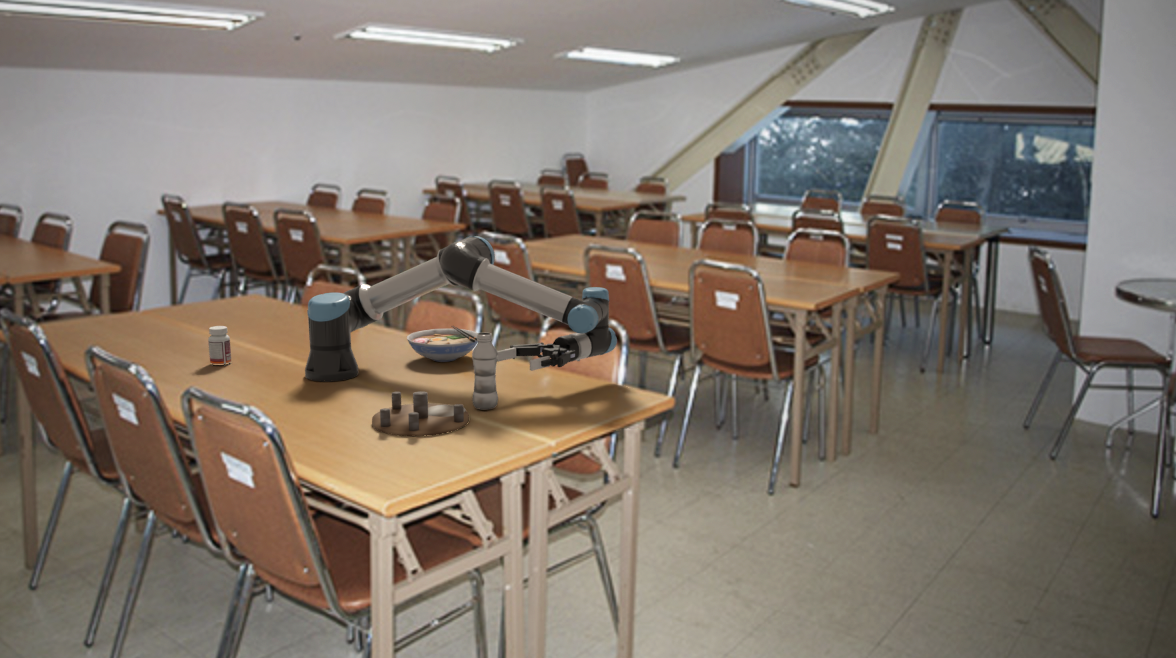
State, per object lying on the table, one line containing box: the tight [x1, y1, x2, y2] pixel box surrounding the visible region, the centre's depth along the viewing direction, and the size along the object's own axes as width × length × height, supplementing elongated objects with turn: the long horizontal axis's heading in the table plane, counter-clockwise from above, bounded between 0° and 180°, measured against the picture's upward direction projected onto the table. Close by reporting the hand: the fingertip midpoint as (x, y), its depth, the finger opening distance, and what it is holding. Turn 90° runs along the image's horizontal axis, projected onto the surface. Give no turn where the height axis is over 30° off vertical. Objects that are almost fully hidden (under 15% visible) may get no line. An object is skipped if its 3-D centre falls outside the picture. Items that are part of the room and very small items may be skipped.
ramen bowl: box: [406, 325, 479, 363], centre depth 317 cm, size 25×23×8 cm
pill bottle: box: [207, 325, 232, 364], centre depth 310 cm, size 6×6×11 cm
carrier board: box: [371, 391, 470, 437], centre depth 255 cm, size 24×24×7 cm
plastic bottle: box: [471, 331, 499, 410], centre depth 264 cm, size 6×7×20 cm
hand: (513, 360), depth 271 cm, fingers open, 13 cm apart
